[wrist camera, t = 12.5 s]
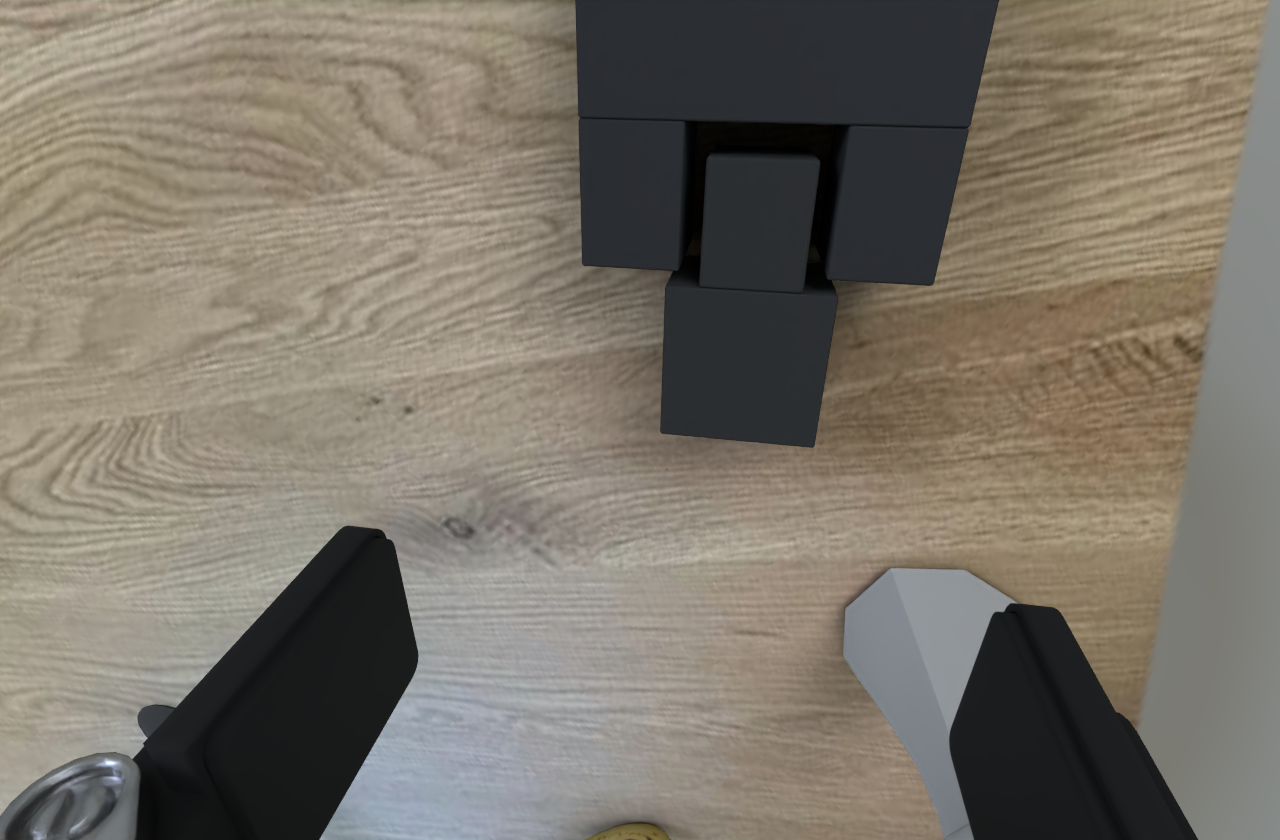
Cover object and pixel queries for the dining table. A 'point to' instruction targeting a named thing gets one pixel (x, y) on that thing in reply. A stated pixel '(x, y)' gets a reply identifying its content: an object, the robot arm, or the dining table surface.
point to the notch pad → (779, 118)
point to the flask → (922, 666)
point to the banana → (632, 833)
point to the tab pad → (750, 306)
